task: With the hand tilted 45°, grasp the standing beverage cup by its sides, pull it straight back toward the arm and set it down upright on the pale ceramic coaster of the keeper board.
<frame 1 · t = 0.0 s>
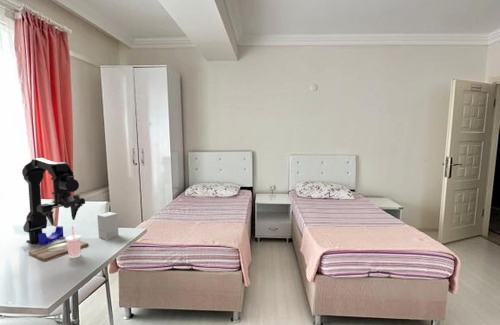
hand: (63, 222, 135), 15 cm above the table, tool pointing down, fingers open, 9 cm apart
cable clip: (50, 241, 152), on the table
keeper board: (59, 250, 140), on the table
supplement box: (108, 236, 157), on the table
beverage cup: (74, 256, 133), on the table
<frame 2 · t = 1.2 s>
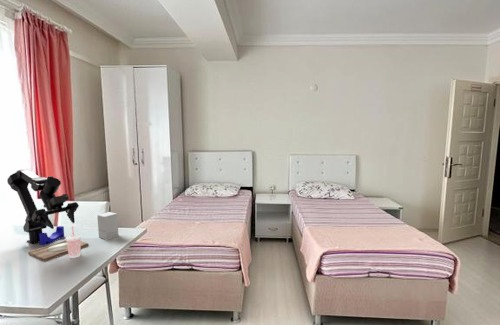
hand: (63, 225, 135), 13 cm above the table, tool tilted 45°, fingers open, 9 cm apart
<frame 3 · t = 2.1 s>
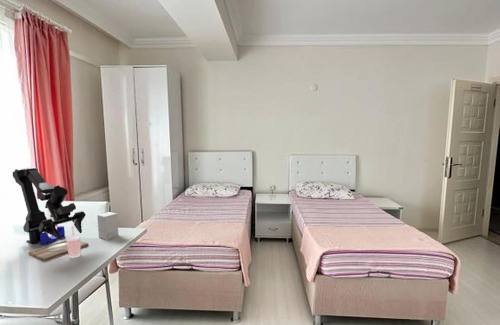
hand: (71, 235, 133), 9 cm above the table, tool tilted 45°, fingers open, 9 cm apart
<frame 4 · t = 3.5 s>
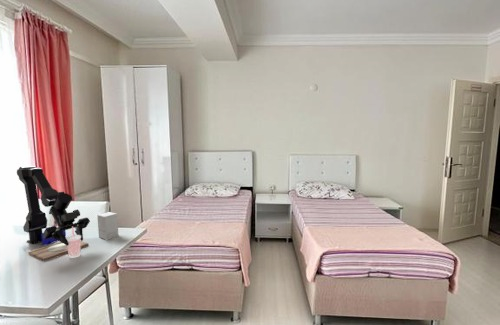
hand: (75, 242, 132), 7 cm above the table, tool tilted 45°, fingers closed on beverage cup, 6 cm apart
beverage cup: (74, 256, 133), on the table, touching gripper
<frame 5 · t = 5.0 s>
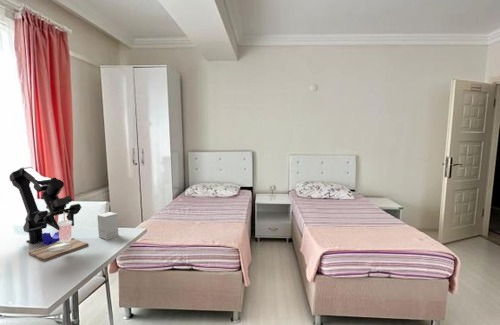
hand: (66, 227, 134), 12 cm above the table, tool tilted 45°, fingers closed on beverage cup, 6 cm apart
beverage cup: (65, 241, 136), point 6 cm above the table, touching gripper
when the fingers open (9 cm above the table, at t = 6.8 s): beverage cup drops 1 cm, resting on keeper board.
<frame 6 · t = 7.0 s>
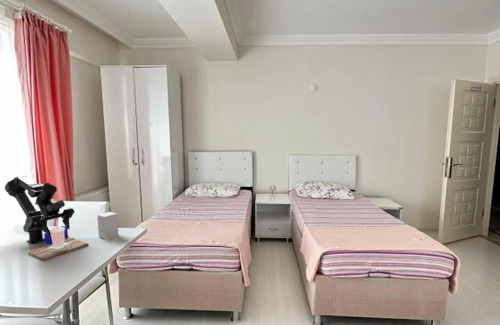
hand: (59, 231, 138), 10 cm above the table, tool tilted 45°, fingers open, 8 cm apart
beverage cup: (59, 247, 139), point 1 cm above the table, touching keeper board
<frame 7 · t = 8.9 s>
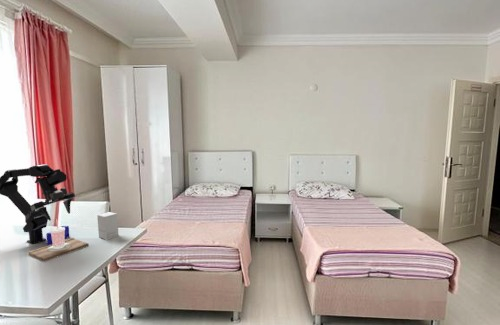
hand: (60, 216, 146), 14 cm above the table, tool tilted 20°, fingers open, 9 cm apart
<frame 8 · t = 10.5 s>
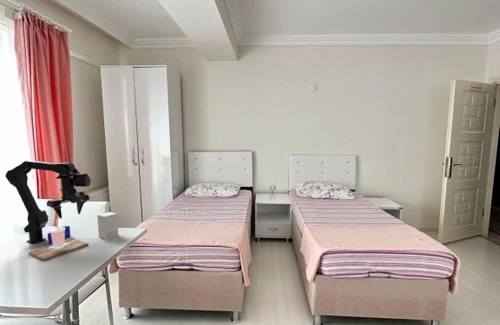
hand: (70, 216, 151), 13 cm above the table, tool pointing down, fingers open, 9 cm apart
at the end: beverage cup inside the target area on the keeper board (0.2 cm from its centre), point 1.3 cm above the keeper board's base; beverage cup tilted 0°; the gripper is holding nothing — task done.
